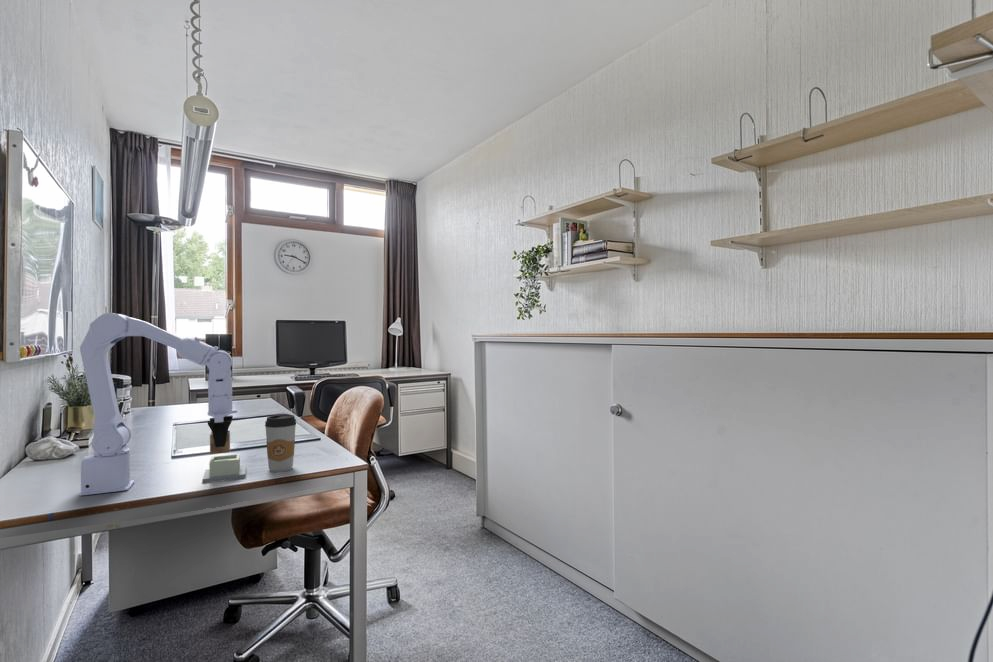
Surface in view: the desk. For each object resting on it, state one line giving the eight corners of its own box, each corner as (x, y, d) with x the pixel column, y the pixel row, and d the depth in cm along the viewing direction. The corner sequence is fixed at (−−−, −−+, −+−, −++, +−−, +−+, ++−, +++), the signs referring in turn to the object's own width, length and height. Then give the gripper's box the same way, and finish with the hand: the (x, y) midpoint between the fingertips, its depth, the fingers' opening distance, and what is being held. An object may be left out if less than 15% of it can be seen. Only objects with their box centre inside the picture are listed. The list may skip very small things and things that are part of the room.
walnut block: (210, 454, 132) (209, 435, 132) (211, 450, 136) (211, 432, 136) (229, 452, 134) (229, 433, 134) (229, 448, 138) (229, 430, 138)
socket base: (202, 483, 129) (202, 464, 129) (205, 473, 138) (205, 456, 138) (245, 477, 133) (245, 460, 133) (245, 468, 142) (245, 452, 142)
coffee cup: (262, 474, 137) (262, 420, 137) (267, 466, 145) (267, 415, 145) (294, 471, 139) (294, 418, 139) (298, 464, 147) (298, 413, 147)
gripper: (236, 397, 130) (236, 448, 130) (237, 391, 143) (238, 438, 143) (205, 398, 127) (205, 451, 127) (209, 392, 140) (210, 440, 140)
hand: (220, 444), depth 135 cm, fingers closed on walnut block, 4 cm apart
